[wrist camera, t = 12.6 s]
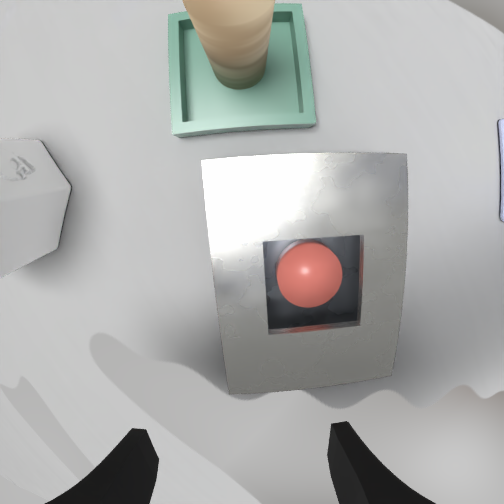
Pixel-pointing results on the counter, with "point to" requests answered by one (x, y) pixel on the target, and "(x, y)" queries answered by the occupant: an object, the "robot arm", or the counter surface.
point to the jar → (29, 203)
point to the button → (308, 273)
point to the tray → (246, 100)
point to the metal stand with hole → (316, 228)
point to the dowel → (234, 37)
